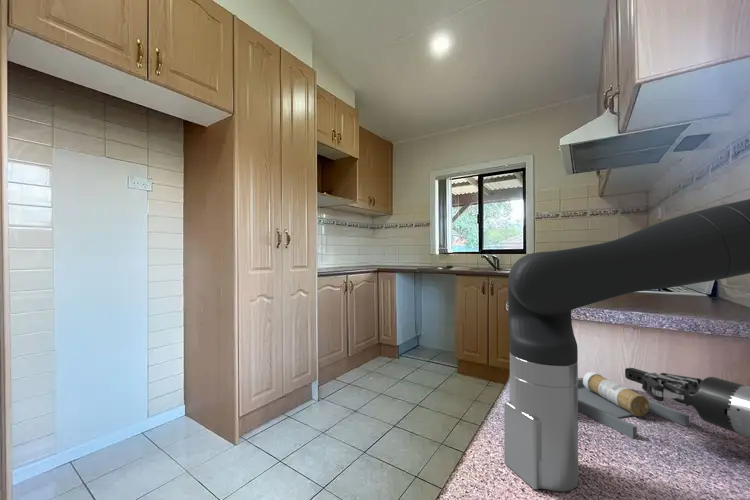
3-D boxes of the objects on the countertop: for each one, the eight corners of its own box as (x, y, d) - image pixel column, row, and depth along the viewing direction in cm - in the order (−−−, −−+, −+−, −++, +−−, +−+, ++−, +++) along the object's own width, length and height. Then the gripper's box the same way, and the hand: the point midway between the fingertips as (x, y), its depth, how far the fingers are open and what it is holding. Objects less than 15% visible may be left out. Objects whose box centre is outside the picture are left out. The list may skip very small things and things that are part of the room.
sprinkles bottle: (654, 408, 65) (602, 382, 78) (642, 390, 65) (592, 367, 78) (637, 422, 64) (588, 393, 78) (625, 403, 64) (578, 378, 78)
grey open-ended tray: (632, 438, 57) (632, 427, 57) (539, 391, 77) (539, 383, 77) (689, 425, 62) (689, 415, 62) (587, 384, 82) (587, 376, 82)
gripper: (770, 382, 51) (648, 352, 68) (720, 391, 47) (604, 357, 63) (771, 428, 51) (649, 387, 67) (721, 442, 47) (604, 394, 63)
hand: (627, 372), depth 65 cm, fingers closed
